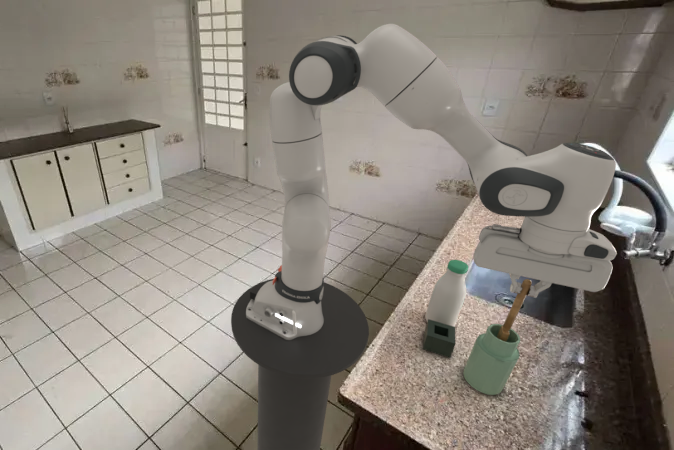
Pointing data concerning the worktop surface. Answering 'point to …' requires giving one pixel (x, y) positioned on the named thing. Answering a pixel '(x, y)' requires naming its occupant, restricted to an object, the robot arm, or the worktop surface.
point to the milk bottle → (448, 294)
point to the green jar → (492, 360)
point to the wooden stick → (514, 311)
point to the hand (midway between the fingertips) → (522, 293)
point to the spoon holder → (439, 338)
